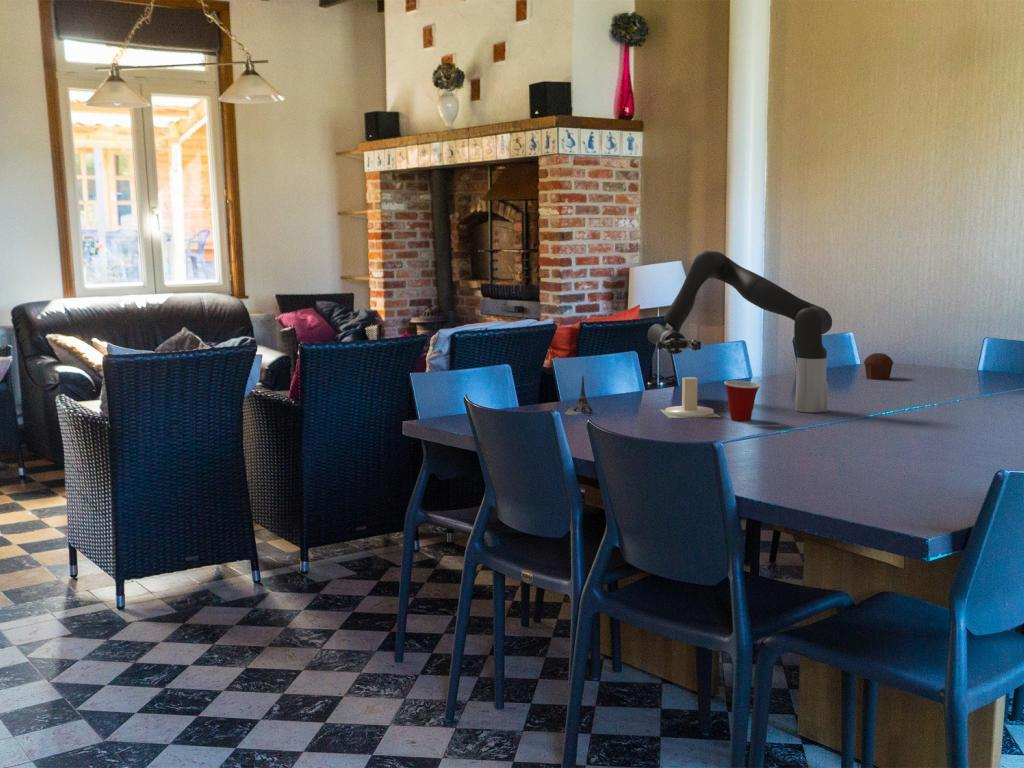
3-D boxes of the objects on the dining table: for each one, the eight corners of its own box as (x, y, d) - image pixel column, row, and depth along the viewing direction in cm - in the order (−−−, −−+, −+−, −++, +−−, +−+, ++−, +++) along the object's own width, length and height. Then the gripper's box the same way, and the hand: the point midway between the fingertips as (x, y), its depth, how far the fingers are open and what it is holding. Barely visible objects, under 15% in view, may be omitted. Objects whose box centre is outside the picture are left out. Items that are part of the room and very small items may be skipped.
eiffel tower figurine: (569, 409, 343) (569, 369, 341) (599, 410, 341) (599, 370, 339) (562, 416, 328) (562, 374, 327) (594, 417, 326) (594, 375, 325)
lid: (707, 409, 334) (708, 374, 332) (718, 416, 319) (719, 380, 317) (661, 409, 333) (661, 375, 332) (670, 417, 318) (670, 381, 317)
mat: (708, 410, 334) (708, 408, 334) (720, 418, 318) (720, 416, 318) (659, 411, 334) (659, 409, 333) (669, 419, 318) (669, 417, 318)
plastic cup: (755, 425, 305) (755, 385, 304) (719, 423, 310) (719, 383, 308) (763, 419, 315) (764, 381, 313) (728, 417, 320) (729, 379, 318)
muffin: (888, 381, 403) (889, 355, 401) (859, 379, 409) (860, 354, 407) (895, 377, 412) (896, 352, 411) (867, 376, 418) (868, 351, 417)
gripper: (651, 330, 349) (661, 335, 333) (693, 330, 349) (705, 335, 333) (651, 352, 350) (661, 358, 334) (692, 352, 351) (704, 358, 335)
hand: (683, 347), depth 334 cm, fingers open, 8 cm apart
